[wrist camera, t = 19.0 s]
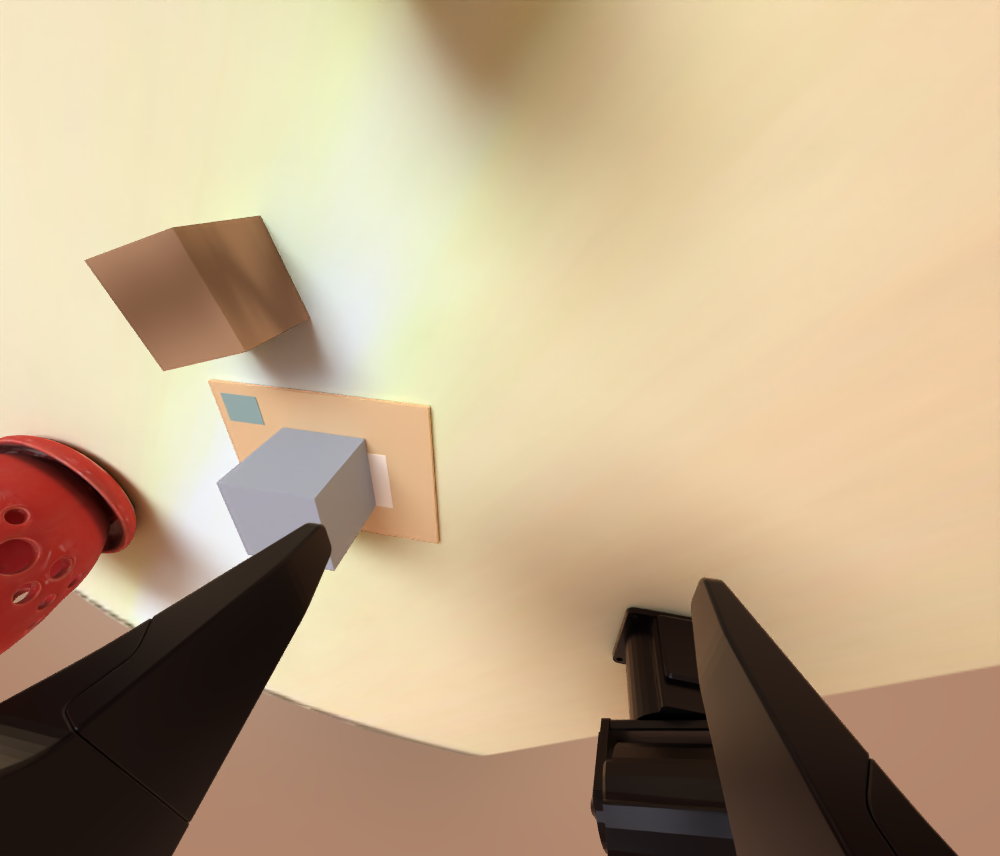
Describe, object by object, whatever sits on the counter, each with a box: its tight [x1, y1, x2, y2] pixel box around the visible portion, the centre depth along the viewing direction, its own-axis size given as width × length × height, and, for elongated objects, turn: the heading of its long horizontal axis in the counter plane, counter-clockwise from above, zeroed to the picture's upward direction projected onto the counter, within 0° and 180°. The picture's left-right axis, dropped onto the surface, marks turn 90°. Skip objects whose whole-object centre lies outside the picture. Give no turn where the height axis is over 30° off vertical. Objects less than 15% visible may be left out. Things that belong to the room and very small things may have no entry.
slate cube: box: [217, 427, 376, 571], centre depth 25 cm, size 6×6×6 cm
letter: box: [208, 379, 439, 544], centre depth 27 cm, size 11×14×1 cm
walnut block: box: [85, 216, 310, 371], centre depth 19 cm, size 5×5×5 cm
